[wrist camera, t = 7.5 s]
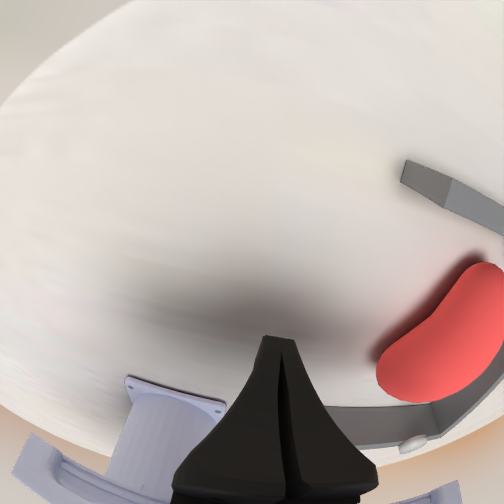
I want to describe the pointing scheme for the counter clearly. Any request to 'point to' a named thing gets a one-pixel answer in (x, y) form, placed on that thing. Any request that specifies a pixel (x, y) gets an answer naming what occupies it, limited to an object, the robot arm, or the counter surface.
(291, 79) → the counter surface
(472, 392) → the gray u-shaped bracket
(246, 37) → the counter surface
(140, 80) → the counter surface
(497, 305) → the red kidney bean shape
